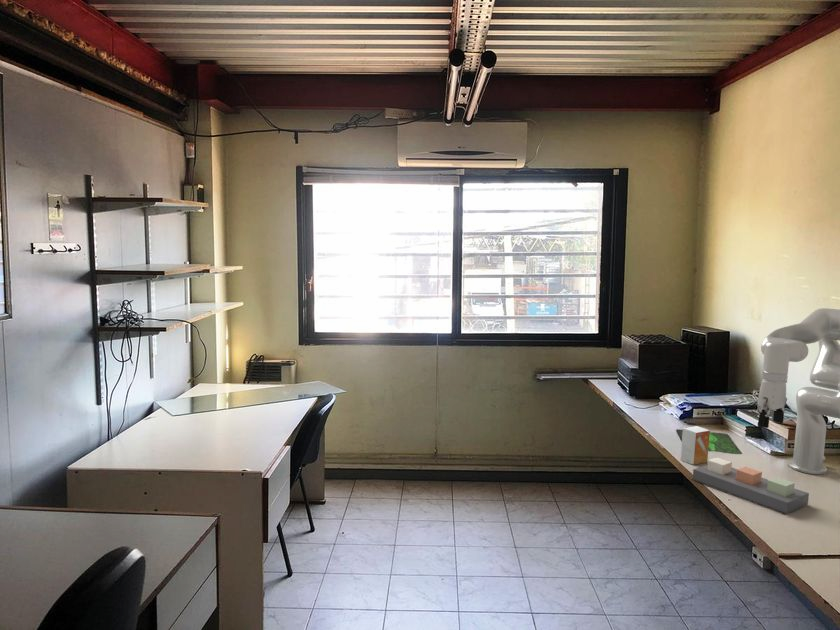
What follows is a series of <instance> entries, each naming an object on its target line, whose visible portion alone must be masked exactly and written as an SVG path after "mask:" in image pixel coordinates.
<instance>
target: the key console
mask: <svg viewBox="0 0 840 630" xmlns="http://www.w3.org/2000/svg"><path fill="white" fill-rule="evenodd" d="M707 466H708V464H706V465H703V466H699V467H696V468H693V470H692V481H695V482H697V483H699V484H702V485H706V486H709V487H710V488H713V489H716V490H719V491H721V492H724V493H727V494H730V495H731V496H735V497H738V498H740V499H743V500H745V501H747V502H751V503H754V504H757V505H759V506H762V507H764V508H767V509H770V510H772V511H774V512H777V513H781V514H783V515H788V514H790V513H793V512H795V511H797V510H800V509H802V508H804V507H806V506H808V505H809V495H810V493H809V492H807V491H804V490H801V489H797V488H796V487H794V494H792V495H790V496H787V497H784V496H781V495H778V494H775V493H772V492H769V491H767V487H768V480H769V479H767V478H764V477H761V483H758V484H756V485H753V486H752V485H749V484H746V483H743V482H741V481H738V480H736V473H737V470H738V469H739V468H738V469H737V468H734V467H731V472H730V473H727V474H725V475H721V474H718V473H715V472H712V471H709V470H707Z"/></svg>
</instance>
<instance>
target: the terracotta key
mask: <svg viewBox="0 0 840 630" xmlns="http://www.w3.org/2000/svg"><path fill="white" fill-rule="evenodd" d="M762 475H763V471H760V470H758V469H757V470H756V469H755V468H751V467H748V466H743V467H740V468H738V470H737V473H736V480H738V481H741V482H743V483H746V484H749V485H752V486H753V485H756V484H758V483H761V477H762ZM762 478H763V477H762Z"/></svg>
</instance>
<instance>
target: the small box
mask: <svg viewBox="0 0 840 630" xmlns="http://www.w3.org/2000/svg"><path fill="white" fill-rule="evenodd" d="M682 430H683V434H682V441H681V449H680V458H679V459H680V461H683V462H685V463H687V464H690V465H693V466H695V465H698V464H704V463H705V464H706V463H708V460H709V457H708V456H709V451H708V448H709V436H710V432H711V430H709V429H707V428H705V427H701V426H698V425H695V426H689V427H683V428H682Z"/></svg>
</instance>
